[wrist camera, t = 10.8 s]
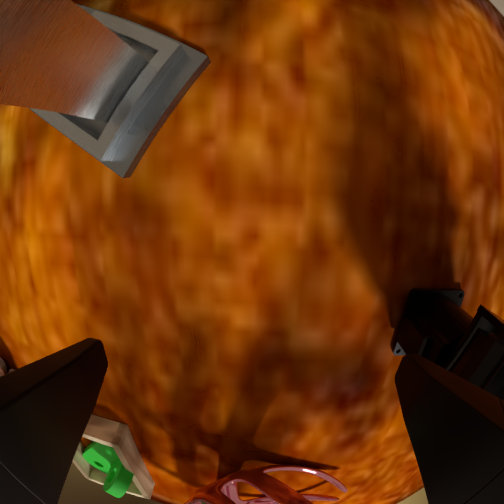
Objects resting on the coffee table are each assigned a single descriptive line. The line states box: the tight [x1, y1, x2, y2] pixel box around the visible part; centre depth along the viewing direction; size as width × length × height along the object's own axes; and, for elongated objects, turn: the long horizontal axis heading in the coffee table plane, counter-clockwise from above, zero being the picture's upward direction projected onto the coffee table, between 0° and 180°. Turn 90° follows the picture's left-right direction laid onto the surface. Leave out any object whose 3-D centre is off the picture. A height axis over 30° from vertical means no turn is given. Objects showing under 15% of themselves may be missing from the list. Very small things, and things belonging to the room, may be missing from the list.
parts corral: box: [72, 415, 155, 499], centre depth 27 cm, size 12×18×4 cm, turn 177°
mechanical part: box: [83, 441, 140, 498], centre depth 26 cm, size 12×6×8 cm, turn 138°
